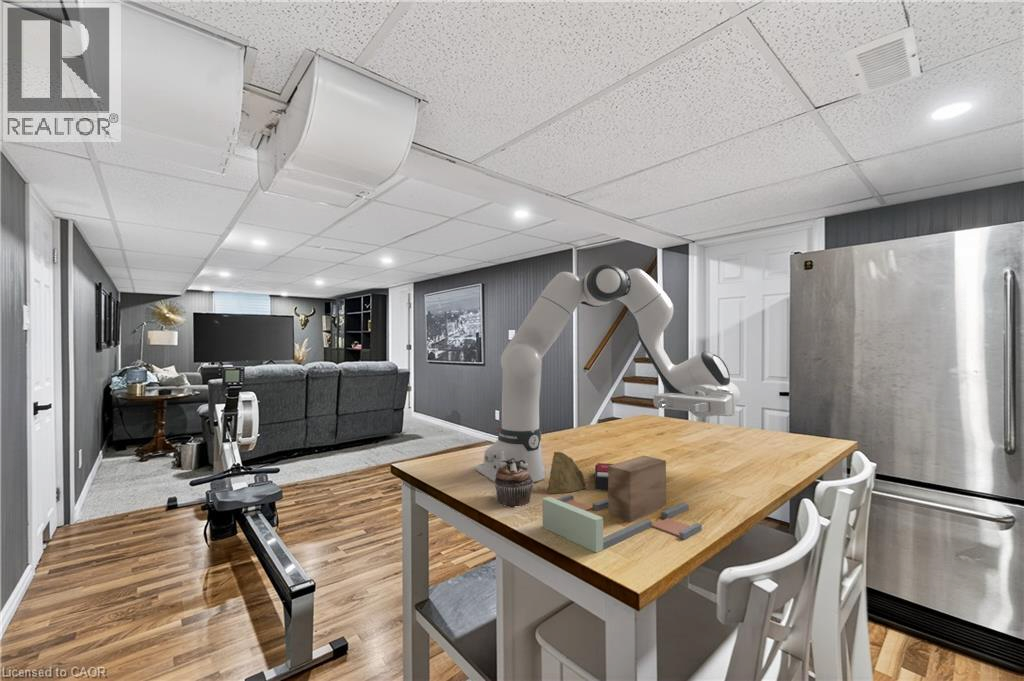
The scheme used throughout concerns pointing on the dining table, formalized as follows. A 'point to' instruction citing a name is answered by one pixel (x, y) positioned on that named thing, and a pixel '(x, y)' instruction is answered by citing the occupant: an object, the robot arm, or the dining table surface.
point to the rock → (565, 475)
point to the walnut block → (636, 487)
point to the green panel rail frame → (588, 527)
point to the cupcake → (513, 483)
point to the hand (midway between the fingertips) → (675, 406)
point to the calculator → (601, 476)
